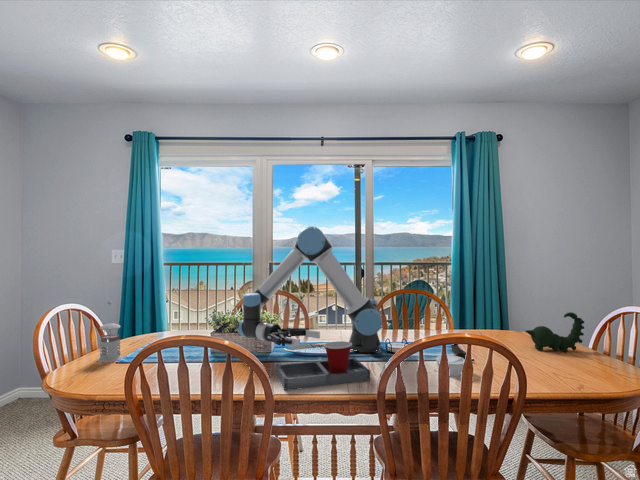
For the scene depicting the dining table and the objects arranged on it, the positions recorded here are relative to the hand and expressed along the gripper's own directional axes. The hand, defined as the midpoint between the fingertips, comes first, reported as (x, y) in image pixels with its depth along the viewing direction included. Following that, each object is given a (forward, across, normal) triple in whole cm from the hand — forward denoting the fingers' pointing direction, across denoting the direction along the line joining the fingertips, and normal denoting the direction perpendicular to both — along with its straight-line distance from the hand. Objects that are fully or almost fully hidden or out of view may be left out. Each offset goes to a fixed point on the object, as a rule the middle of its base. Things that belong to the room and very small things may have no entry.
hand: (309, 338), depth 164 cm
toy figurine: (+79, -84, -14) cm, 116 cm away
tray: (+9, +5, -12) cm, 16 cm away
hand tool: (+43, -52, -14) cm, 69 cm away
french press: (-81, +36, -11) cm, 89 cm away
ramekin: (+48, -28, -13) cm, 57 cm away
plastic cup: (+14, +1, -12) cm, 18 cm away
